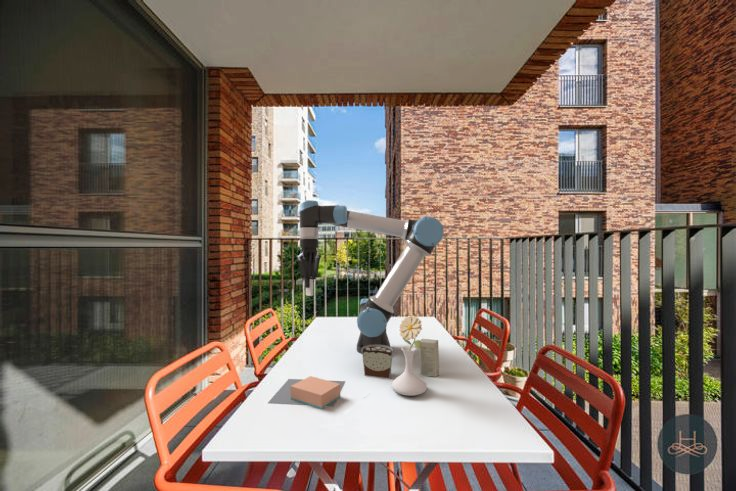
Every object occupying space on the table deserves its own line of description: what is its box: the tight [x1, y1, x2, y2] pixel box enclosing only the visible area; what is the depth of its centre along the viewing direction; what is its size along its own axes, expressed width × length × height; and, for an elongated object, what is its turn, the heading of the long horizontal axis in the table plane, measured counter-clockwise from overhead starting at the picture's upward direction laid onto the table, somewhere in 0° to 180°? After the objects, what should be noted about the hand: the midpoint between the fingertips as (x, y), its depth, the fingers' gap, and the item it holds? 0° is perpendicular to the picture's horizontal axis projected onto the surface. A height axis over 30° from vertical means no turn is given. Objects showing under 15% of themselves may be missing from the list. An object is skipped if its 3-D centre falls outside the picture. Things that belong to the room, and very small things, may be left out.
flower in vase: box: [391, 314, 428, 397], centre depth 107 cm, size 13×11×25 cm
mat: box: [267, 378, 346, 408], centre depth 107 cm, size 20×18×1 cm
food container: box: [360, 345, 395, 380], centre depth 122 cm, size 12×6×10 cm, turn 71°
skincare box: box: [418, 338, 440, 378], centre depth 122 cm, size 6×4×12 cm
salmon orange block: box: [290, 375, 341, 410], centre depth 102 cm, size 4×9×12 cm
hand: (309, 295), depth 138 cm, fingers closed
